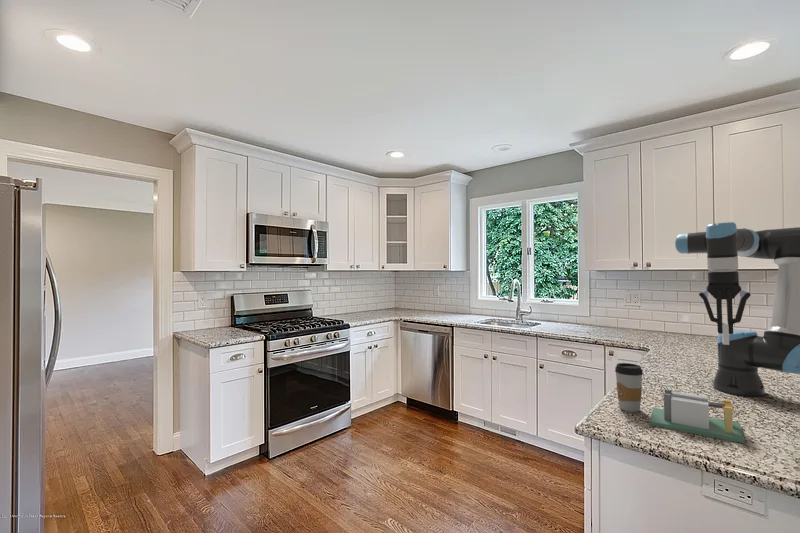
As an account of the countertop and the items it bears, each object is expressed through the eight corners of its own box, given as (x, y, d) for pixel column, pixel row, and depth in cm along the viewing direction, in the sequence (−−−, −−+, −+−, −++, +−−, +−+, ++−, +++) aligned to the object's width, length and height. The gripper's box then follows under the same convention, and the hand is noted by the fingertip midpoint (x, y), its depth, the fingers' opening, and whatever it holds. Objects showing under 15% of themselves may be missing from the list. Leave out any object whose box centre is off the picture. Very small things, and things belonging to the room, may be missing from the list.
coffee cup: (610, 405, 136) (609, 363, 136) (632, 404, 136) (631, 362, 136) (626, 414, 127) (625, 369, 127) (649, 412, 128) (648, 368, 128)
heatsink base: (649, 424, 118) (648, 395, 118) (653, 411, 129) (652, 384, 129) (744, 443, 105) (743, 410, 105) (739, 426, 116) (739, 396, 116)
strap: (665, 402, 120) (665, 398, 120) (666, 398, 123) (666, 395, 123) (733, 411, 110) (733, 407, 110) (732, 406, 113) (732, 403, 113)
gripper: (748, 269, 121) (751, 343, 121) (696, 270, 129) (699, 339, 129) (751, 270, 115) (755, 348, 115) (697, 271, 123) (700, 344, 123)
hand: (725, 343), depth 122 cm, fingers closed
